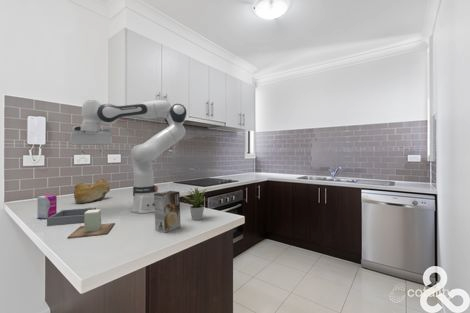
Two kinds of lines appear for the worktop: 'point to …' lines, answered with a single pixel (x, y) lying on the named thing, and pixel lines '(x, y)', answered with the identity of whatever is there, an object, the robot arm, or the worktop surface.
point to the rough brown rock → (91, 191)
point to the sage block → (92, 220)
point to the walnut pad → (81, 231)
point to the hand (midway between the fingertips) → (91, 152)
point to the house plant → (196, 204)
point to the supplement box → (46, 206)
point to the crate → (68, 217)
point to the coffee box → (167, 211)
